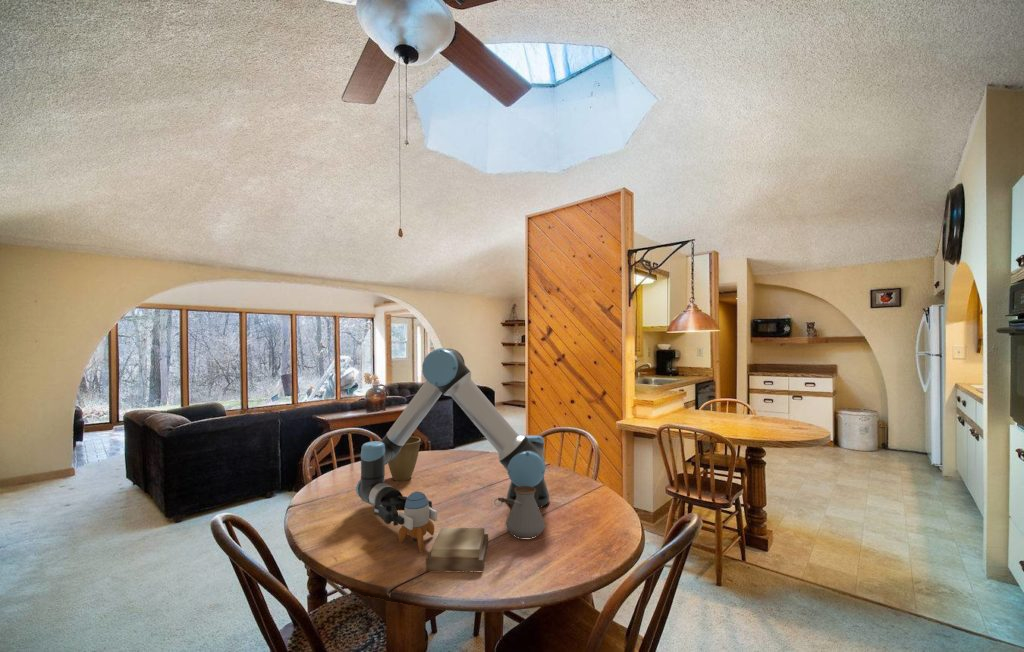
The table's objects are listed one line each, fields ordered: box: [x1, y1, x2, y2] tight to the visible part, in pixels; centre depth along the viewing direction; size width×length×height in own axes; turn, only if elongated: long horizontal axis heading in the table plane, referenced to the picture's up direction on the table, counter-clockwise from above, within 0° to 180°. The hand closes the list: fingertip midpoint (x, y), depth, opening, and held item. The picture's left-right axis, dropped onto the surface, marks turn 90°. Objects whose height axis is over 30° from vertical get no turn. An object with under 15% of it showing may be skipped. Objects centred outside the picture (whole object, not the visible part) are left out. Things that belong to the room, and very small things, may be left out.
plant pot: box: [387, 435, 421, 481], centre depth 176 cm, size 15×15×16 cm
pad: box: [425, 527, 489, 573], centre depth 109 cm, size 14×14×5 cm
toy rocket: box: [397, 491, 435, 553], centre depth 117 cm, size 10×11×15 cm
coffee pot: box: [493, 486, 546, 538], centre depth 119 cm, size 21×12×15 cm, turn 150°
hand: (424, 520), depth 114 cm, fingers closed on toy rocket, 7 cm apart
